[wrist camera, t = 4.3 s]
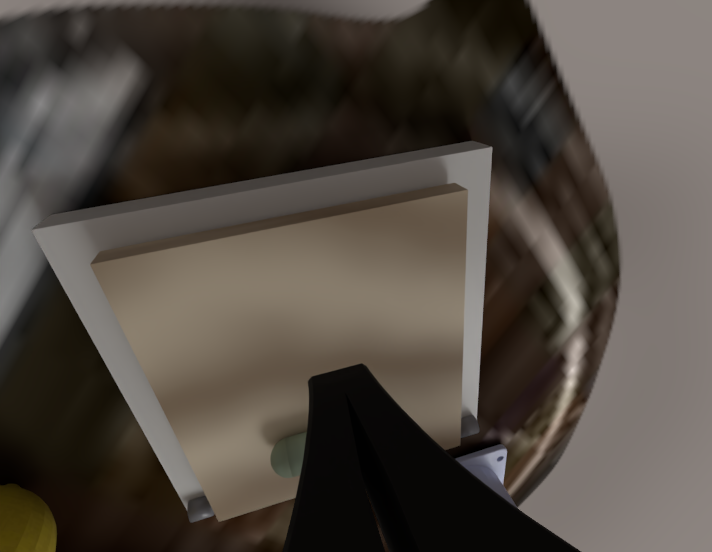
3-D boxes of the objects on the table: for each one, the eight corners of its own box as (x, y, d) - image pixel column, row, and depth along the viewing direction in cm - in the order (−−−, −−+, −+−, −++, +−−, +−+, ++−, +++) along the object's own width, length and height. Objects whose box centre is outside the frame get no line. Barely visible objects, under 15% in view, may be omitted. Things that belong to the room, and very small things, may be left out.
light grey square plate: (463, 410, 24) (483, 440, 22) (194, 491, 21) (189, 534, 19) (472, 140, 16) (504, 150, 14) (50, 214, 14) (18, 239, 12)
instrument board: (451, 430, 22) (475, 471, 20) (219, 502, 20) (217, 557, 17) (455, 182, 15) (492, 202, 13) (99, 251, 13) (70, 289, 11)
